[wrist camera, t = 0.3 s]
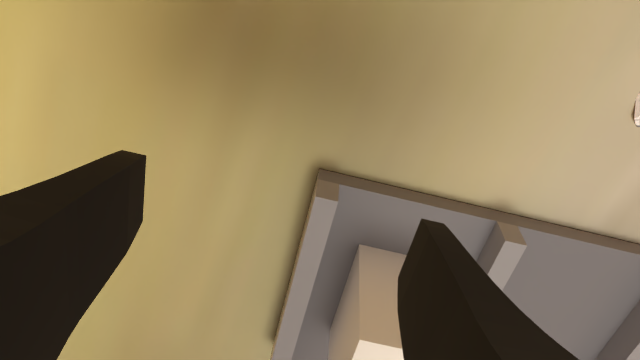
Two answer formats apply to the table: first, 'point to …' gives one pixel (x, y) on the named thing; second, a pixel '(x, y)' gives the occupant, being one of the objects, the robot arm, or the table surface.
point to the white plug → (369, 309)
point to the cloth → (637, 111)
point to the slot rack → (487, 250)
